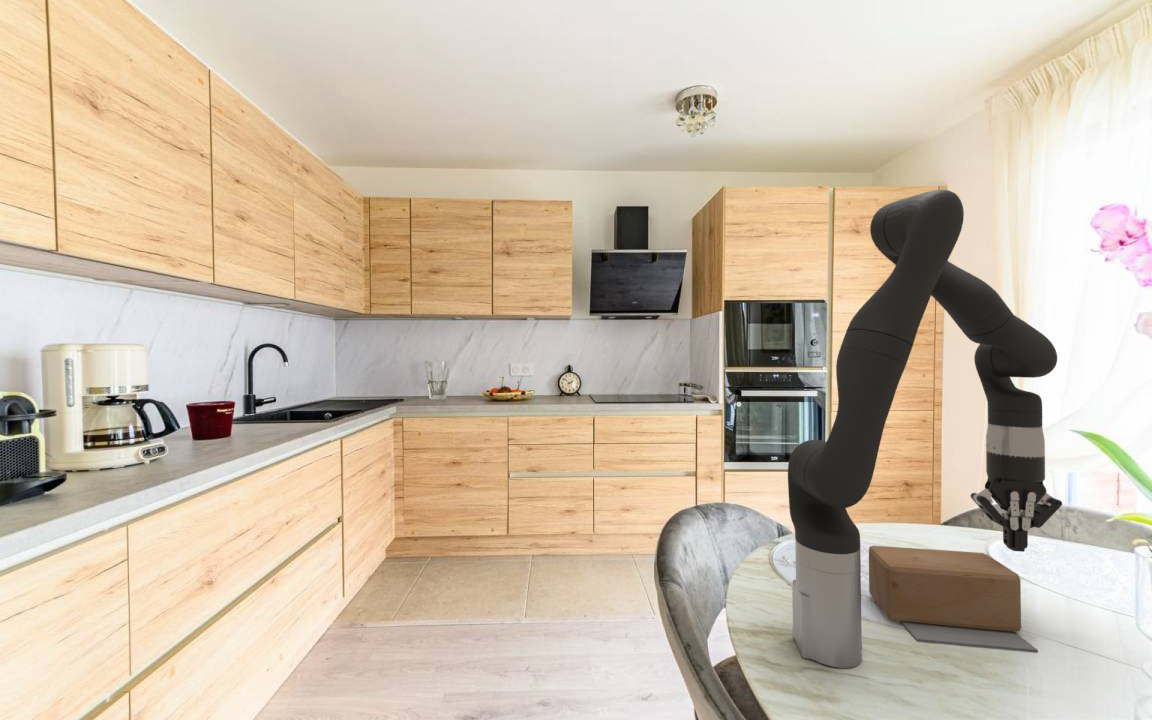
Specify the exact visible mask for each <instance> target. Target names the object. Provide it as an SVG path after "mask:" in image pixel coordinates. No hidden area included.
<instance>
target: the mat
mask: <svg viewBox="0 0 1152 720" xmlns="http://www.w3.org/2000/svg"><path fill="white" fill-rule="evenodd" d="M900 624H901V626H903V627H904V629H906V631H907V632H908V633H909V634H910V635H911V637H912V638H914V640H915V641H916V642H921V643H930V644H942V645H953V646H961V647H962V646H963V647H975V648H984V649H986V648H987V649H997V650H1005V651H1017V652H1028V653H1038V652H1039V649H1037V648H1036V647H1034V646H1033V645H1032V644H1031V643H1030V642H1029V641H1027V640H1026V639H1025V638H1023V637H1022V636H1021V635H1019V633H1018V632H1011V631H1001V630H991V629H980V628H970V627H960V626H949V625H939V624H929V623H919V622H908V621H900Z"/></svg>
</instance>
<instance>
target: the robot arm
mask: <svg viewBox="0 0 1152 720" xmlns="http://www.w3.org/2000/svg"><path fill="white" fill-rule="evenodd" d="M964 211H965V210H964V205H963V203H962V200H961V198H960V197H959V195H958V194H957V193H955V192H953V191H951V190H948V189H936V190H931V191H926V192H922V193H919V194H915V195H913V196H908V197H905V198H902V199H898V200H897V201H893V202H890V203H888V204H885V205H884V206H882V207H880V208H879V209H878V210H877V211H876V212H875V213H874V215H873V217H872V220H871V223H870V225H869V226H870V230H869V232H870V237H871V241H872V242H873V244H874V246H875V247H876V248H877V249H878V251H879V252H880V253H881V254H882V255H883V256H884V257H885V258H886V259H888V260H889V262H891V263H892V264H894V265H895V266H894V268H893V270H892V272H891V273H890V274H889V276H888V278H886V280H885V281H884V282H883V284H882V285H881V286H879V288H878V289H877V290H876V291H875V292H874V293H873V294H872V296H870V298H869V299H868V300H867V301H866V302H865V303H863V305H862V306H861V307H860V308H859V309H858V311H857V312H856V313H855V314H854V316H853V317H852V319H851V320H850V322H849V324H848V326H847V329H846V331H845V334H844V336H843V339H842V342H841V345H840V348H839V351H838V355H837V358H836V365H835V366H836V367H835V371H836V372H835V373H836V375H835V376H836V386H837V387H836V388H837V398H838V403H837V411H836V416H835V418H834V421H833V422H834V423H833V425H832V427H831V430H830V433H829V436H828V438H827V440H826V441H825V440H820V439H809V440H806V441H802V442H801V443H800V444H798V445H797V446H796V447H795V448H794V449H793V451H792V453H791V455H790V457H789V459H788V460H789V461H788V466H787V486H788V487H787V488H788V489H787V490H788V504H789V505H788V507H789V514H790V515H789V516H790V519H791V522H792V524H793V527H794V528H793V529H794V539H795V541H794V544H795V550H794V551H795V579H793V580H792V581H791V584H792V585H791V586H792V587H791V588H792V589H791V591H792V637H793V639H794V641H795V643H796V646H797V648H798V650H799V652H800V655H801V657H802V658H804V659H809V660H813V661H815V662H817V663H819V664H822V665H826V666H830V667H834V668H840V669H841V668H843V669H845V668H847V669H848V668H853V667H856V666H859V664H860V663H861V662H862V661H863V660H862V659H863V656H862V655H863V653H862V652H863V642H862V641H863V640H862V639H863V638H862V634H863V633H862V581H861V580H862V575H861V574H862V573H861V572H862V570H861V568H862V567H861V566H862V565H861V564H862V563H861V560H862V559H861V533H860V531H859V528H858V527H857V525H856V524H855V523H854V521H853V520H852V518H851V516H850V514H849V513H848V511H847V508H851V507H853V506H855V505H856V504H858V503H859V502H861V500H863V498H864V497H865V495H866V494H867V492H868V490H869V488H870V486H871V482H872V479H873V477H874V476H873V475H874V472H875V468H876V463H877V458H878V455H879V450H880V446H881V440H882V436H883V432H884V429H885V426H886V422H887V419H888V416H889V413H890V411H891V407H892V404H893V401H894V398H895V394H896V393H897V390H898V386H899V385H900V381H901V379H902V376H903V373H904V371H905V369H906V366H907V364H908V360H909V358H910V355H911V352H912V349H913V348H914V347H913V346H914V343H915V340H916V337H917V333H918V330H919V327H920V325H921V322H922V319H923V317H924V314H925V312H926V309H927V306H928V304H929V302H930V299H931V297H932V298H933V299H934V300H936V302H937V303H938V304H939V305H940V306H941V307H942V308H943V309H944V310H945V311H946V313H947V314H948V315H949V316H950V318H951V319H952V320H953V321H954V323H955V324H956V326H957V327H958V328H959V329H960V330H961V331H962V333H963V334H964V336H965V337H967V339H969V340H970V341H971V342H973V343H975V344H979V345H978V346H977V347H976V350H975V353H974V367H975V369H976V372H977V375H978V378H979V379H980V383H981V385H982V388H983V391H984V394H985V397H986V401H987V428H986V435H985V452H986V453H985V457H986V458H985V463H986V464H985V465H986V467H985V469H986V475H987V480H986V482H985V484H984V489H983V490H981V491H980V492H978V493H976V492H972V493H971V494H970V498H971V499H972V501H973V502H974V503H975V504H976V505H977V507H978V508H979V509H981V512H983V513H984V514H985V516H987V518H988V519H989V520H990V521H992V522H993V523H995V524H997V525H999V526H1002V529H1003V530H1002V537H1003V539H1002V542H1003V544H1004V545H1005V546H1006V548H1007V549H1009V550H1011V551H1013V552H1025V550H1026V549H1027V548H1028V546H1029V545H1028V544H1029V543H1028V541H1029V539H1028V537H1029V536H1028V535H1029V534H1028V532H1029V531H1030V529H1032V528H1036V529H1039V528H1042V527H1043V526H1044V524H1045V523H1047V521H1048V520H1049V519H1051V517H1052V516H1053V515H1054V514H1055V513H1056V512H1057V511H1058V510H1059V509H1060V508H1061V507H1062V505H1063V501H1061V500H1060V499H1057V498H1055V497H1053V496H1052V495H1050V494H1049V493H1047V488H1046V486H1045V485H1044V481H1045V479H1046V452H1045V451H1046V446H1045V445H1046V442H1045V441H1046V439H1045V436H1044V435H1045V434H1044V430H1043V429H1044V428H1043V400H1042V397H1041V396H1040V395H1039V394H1037V393H1035V392H1032V391H1027V390H1023V389H1020V388H1018V387H1016V386H1015V384H1014V383H1013V380H1012V379H1011V378H1027V379H1028V378H1029V379H1030V378H1034V379H1035V378H1040V377H1045V376H1046V375H1049V374H1050V373H1051V372H1052V371H1053V370H1054V369H1055V367H1056V366H1057V362H1058V354H1057V351H1056V348H1055V346H1054V344H1053V342H1051V340H1050V339H1049V338H1048V337H1047V336H1046V335H1044V334H1043V333H1042V332H1040V331H1039V330H1037V329H1036V328H1035V327H1033V326H1031V325H1030V324H1029V323H1027V322H1026V321H1024V320H1023V319H1021V318H1019V317H1017V316H1016V315H1015V314H1014V313H1013V312H1012V310H1011V309H1010V308H1009V306H1008V305H1007V303H1006V302H1005V301H1004V300H1003V299H1002V297H1001V295H999V293H998V292H997V291H996V289H994V288H993V287H992V286H991V285H989V284H988V283H987V282H985V281H984V280H982V279H981V278H979V277H977V276H976V275H974V274H972V273H970V272H968V271H966V270H965V269H963V268H961V267H959V266H957V265H956V264H953V263H952V262H950V261H949V258H950V257H951V255H952V252H953V250H954V248H955V247H956V244H957V242H958V239H959V237H960V235H961V231H962V228H963V224H964V215H965V212H964ZM994 502H995V503H996V504H997V509H996V507H995V506H994V505H993V503H994Z"/></svg>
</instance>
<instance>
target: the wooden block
mask: <svg viewBox="0 0 1152 720" xmlns="http://www.w3.org/2000/svg"><path fill="white" fill-rule="evenodd" d="M1021 587H1022V585H1021V579H1020V576H1019V574H1018V573H1016V572H1015V571H1013V570H1012V569H1010V568H1009V567H1007V566H1005V565H1004V564H1002V563H1001V562H999V561H997V560H996V559H994V558H993V557H991V556H990V555H988V554H986V553H984V552H975V551H963V550H962V551H959V550H946V549H945V550H944V549H932V548H930V549H929V548H916V547H915V548H913V547H903V546H902V547H901V546H900V547H899V546H886V545H884V546H883V545H871V546H869V549H868V591H869V594H870V596H871V597H872V599H873V600H874V601H875V603H876V604H877V605H878V607H880V609H881V610H882V611H883V612H884V614H885V615H886V616H887V618H889V619H891V620H893V621H898V622H899V621H908V622H919V623H929V624H939V625H949V626H960V627H970V628H980V629H991V630H1001V631H1011V632H1016V633H1019V632H1021V629H1022V603H1021V602H1022V600H1021V599H1022V598H1021V597H1022V596H1021V594H1022V593H1021V589H1022V588H1021Z"/></svg>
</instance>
